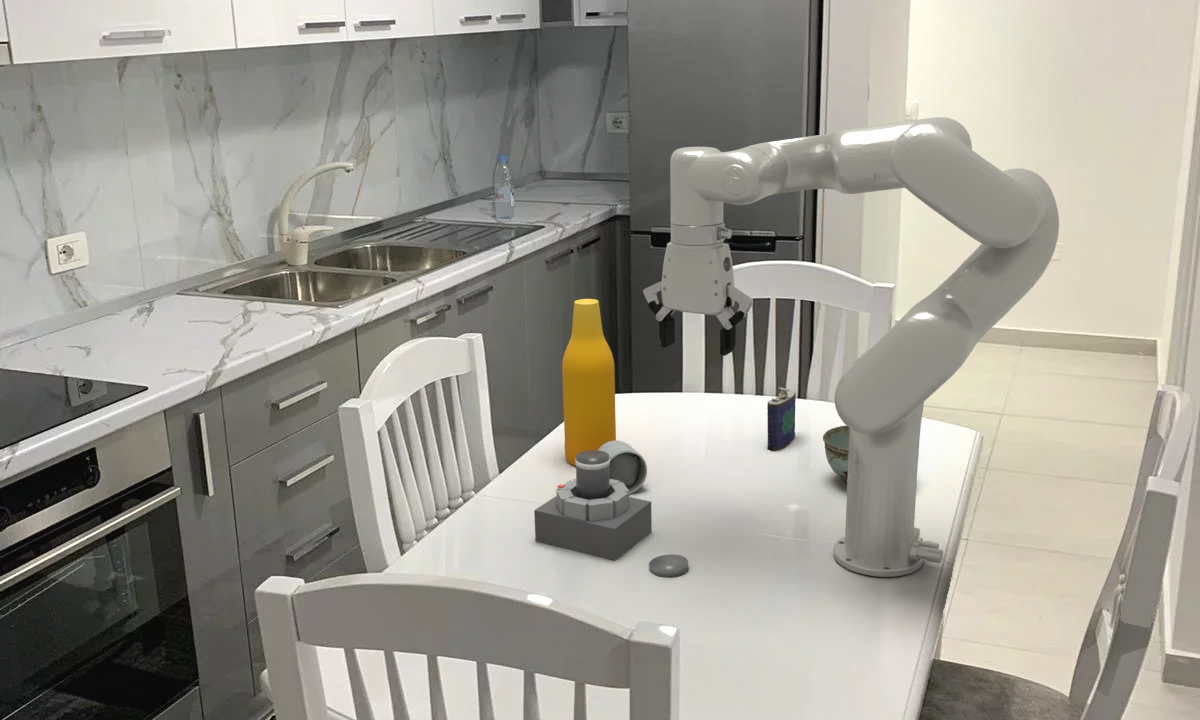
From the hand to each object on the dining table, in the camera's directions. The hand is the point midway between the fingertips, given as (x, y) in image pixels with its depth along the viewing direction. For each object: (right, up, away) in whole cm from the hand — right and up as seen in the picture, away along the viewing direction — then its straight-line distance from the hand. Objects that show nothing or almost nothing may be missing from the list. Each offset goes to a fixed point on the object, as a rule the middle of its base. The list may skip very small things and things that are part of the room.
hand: (696, 349), depth 170 cm
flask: (+19, -17, +41) cm, 48 cm away
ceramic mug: (-12, -23, +23) cm, 35 cm away
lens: (-15, -24, +4) cm, 28 cm away
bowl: (+30, -22, +23) cm, 43 cm away
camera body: (-15, -28, +5) cm, 33 cm away
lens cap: (-4, -31, -6) cm, 32 cm away
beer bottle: (-16, -20, +36) cm, 44 cm away
